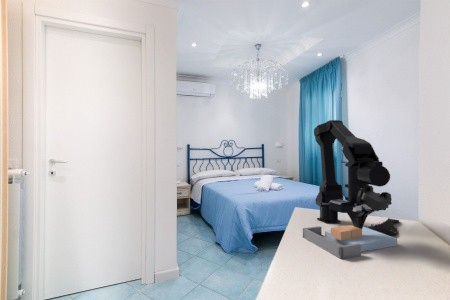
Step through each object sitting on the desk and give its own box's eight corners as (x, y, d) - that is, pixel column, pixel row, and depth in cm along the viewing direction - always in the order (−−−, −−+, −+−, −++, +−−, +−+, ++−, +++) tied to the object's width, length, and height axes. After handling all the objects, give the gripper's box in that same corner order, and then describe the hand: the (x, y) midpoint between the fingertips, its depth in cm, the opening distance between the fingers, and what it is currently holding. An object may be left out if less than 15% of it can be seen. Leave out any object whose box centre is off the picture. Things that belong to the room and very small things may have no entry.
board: (324, 237, 75) (324, 230, 75) (362, 231, 80) (362, 226, 80) (355, 252, 64) (355, 245, 64) (397, 245, 69) (397, 238, 69)
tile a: (341, 234, 72) (341, 226, 72) (351, 232, 74) (351, 225, 74) (351, 238, 69) (351, 230, 69) (362, 237, 70) (362, 229, 70)
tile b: (330, 235, 71) (330, 227, 71) (340, 234, 72) (340, 226, 72) (341, 240, 67) (340, 231, 67) (351, 238, 69) (351, 230, 69)
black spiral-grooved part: (408, 216, 90) (392, 227, 74) (408, 226, 90) (392, 239, 74) (383, 212, 97) (363, 222, 80) (383, 221, 96) (363, 232, 80)
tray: (302, 237, 75) (302, 228, 75) (319, 235, 77) (319, 226, 77) (340, 259, 60) (340, 247, 60) (361, 255, 62) (360, 244, 62)
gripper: (357, 187, 62) (358, 245, 61) (406, 183, 67) (406, 236, 67) (327, 182, 72) (327, 231, 72) (371, 179, 78) (371, 225, 78)
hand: (358, 231), depth 72 cm, fingers closed
